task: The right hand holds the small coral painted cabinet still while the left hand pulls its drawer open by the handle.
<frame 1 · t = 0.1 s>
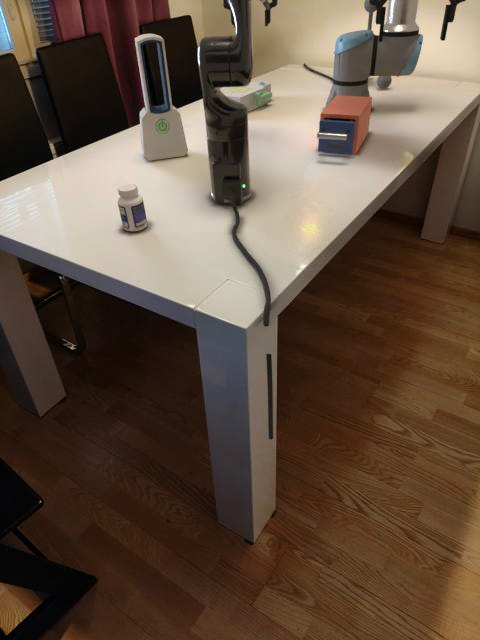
left hand: (251, 26, 133), 29 cm above the table, tool pointing down, fingers open, 8 cm apart
right hand: (410, 40, 111), 28 cm above the table, tool pointing down, fingers open, 13 cm apart
electronic device: (165, 154, 141), on the table
pill bottle: (135, 227, 105), on the table
drawer: (340, 130, 134), point 5 cm above the table, slide at 2.0 cm
cabinet: (344, 141, 142), on the table
molecular model: (358, 86, 194), on the table
decorative block: (238, 107, 178), on the table
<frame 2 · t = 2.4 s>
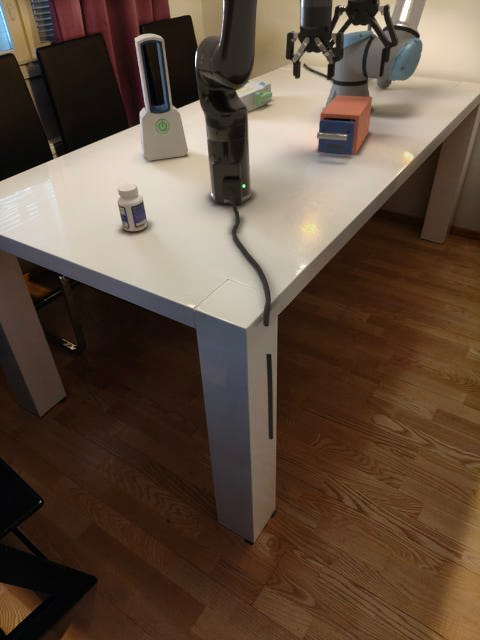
left hand: (313, 78, 124), 19 cm above the table, tool pointing down, fingers open, 8 cm apart
right hand: (356, 75, 135), 17 cm above the table, tool pointing down, fingers open, 13 cm apart
nothing on the table moved.
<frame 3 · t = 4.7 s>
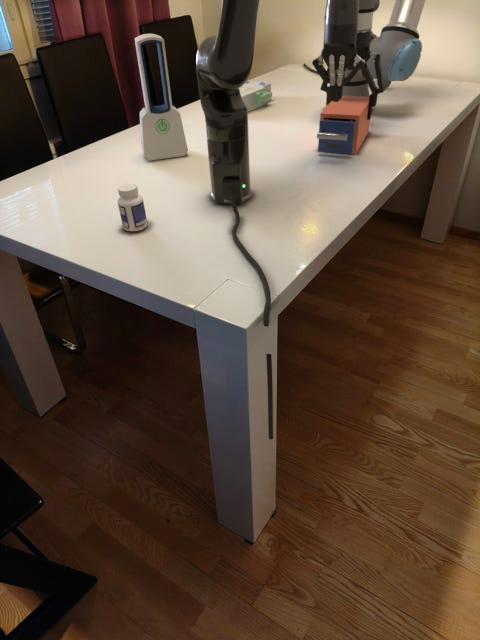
left hand: (335, 101, 122), 15 cm above the table, tool pointing down, fingers closed
right hand: (349, 117, 143), 5 cm above the table, tool pointing down, fingers closed on cabinet, 10 cm apart
cabinet: (344, 141, 142), on the table, touching right hand
everything else where it was.
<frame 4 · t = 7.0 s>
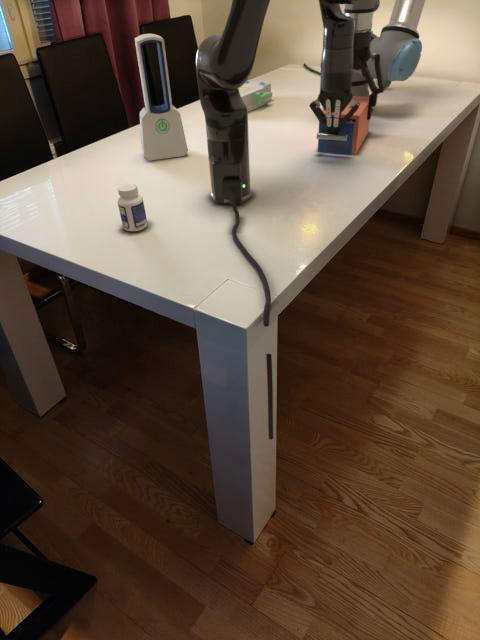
left hand: (332, 140, 128), 5 cm above the table, tool pointing down, fingers closed
right hand: (349, 117, 143), 5 cm above the table, tool pointing down, fingers closed on cabinet, 10 cm apart
drawer: (340, 131, 134), point 5 cm above the table, slide at 2.4 cm, touching left hand
cabinet: (344, 141, 142), on the table, touching right hand
everything else where it was.
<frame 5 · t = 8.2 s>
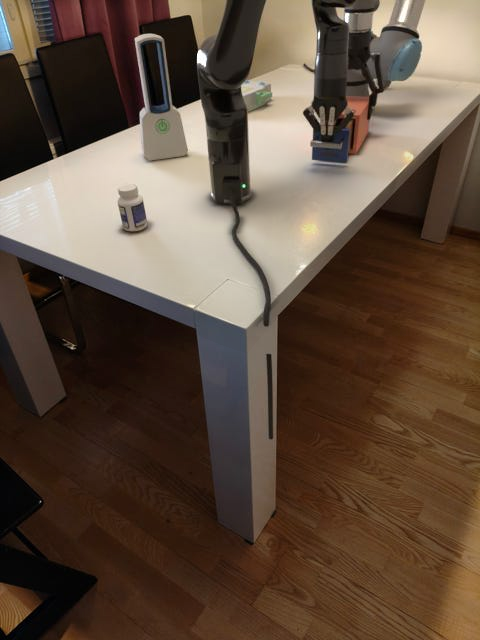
left hand: (326, 148, 123), 5 cm above the table, tool pointing down, fingers closed
right hand: (349, 117, 143), 5 cm above the table, tool pointing down, fingers closed on cabinet, 10 cm apart
drawer: (335, 138, 129), point 5 cm above the table, slide at 8.9 cm, touching left hand
cabinet: (344, 141, 142), on the table, touching right hand
everything else where it was.
when the right hand's fingers open (5 cm above the table, at t = 10.1 s): cabinet stays where it is, on the table.
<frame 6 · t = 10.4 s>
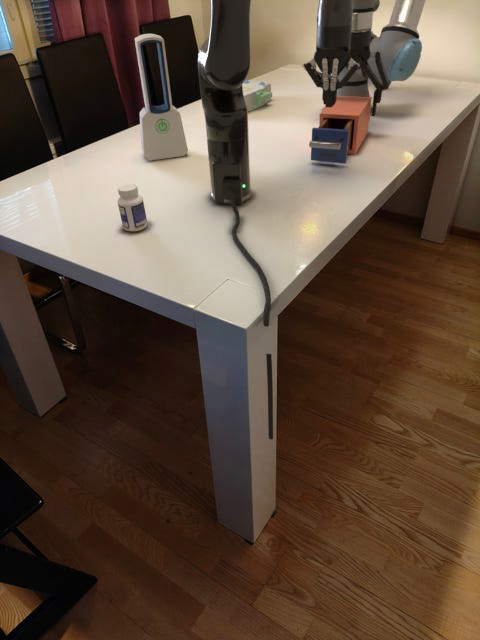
left hand: (329, 106, 117), 15 cm above the table, tool pointing down, fingers closed
right hand: (350, 113, 143), 6 cm above the table, tool pointing down, fingers open, 13 cm apart
drawer: (334, 138, 129), point 5 cm above the table, slide at 8.9 cm
cabinet: (343, 141, 142), on the table
everything else where it was.
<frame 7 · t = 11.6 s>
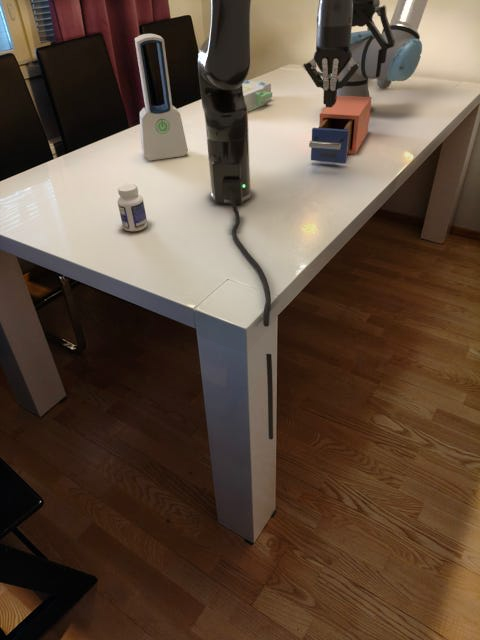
left hand: (329, 106, 117), 15 cm above the table, tool pointing down, fingers closed
right hand: (353, 75, 136), 16 cm above the table, tool pointing down, fingers open, 13 cm apart
nothing on the table moved.
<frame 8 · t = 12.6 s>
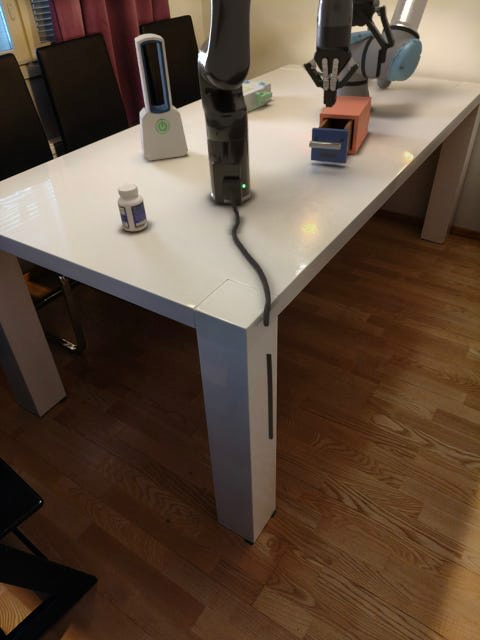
left hand: (329, 106, 117), 15 cm above the table, tool pointing down, fingers closed
right hand: (353, 75, 136), 16 cm above the table, tool pointing down, fingers open, 13 cm apart
nothing on the table moved.
at the end: drawer slide at 8.9 cm; cabinet tilted 0°; cabinet never tilted more than 2° during the clip; cabinet moved 0.2 cm from its start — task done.
